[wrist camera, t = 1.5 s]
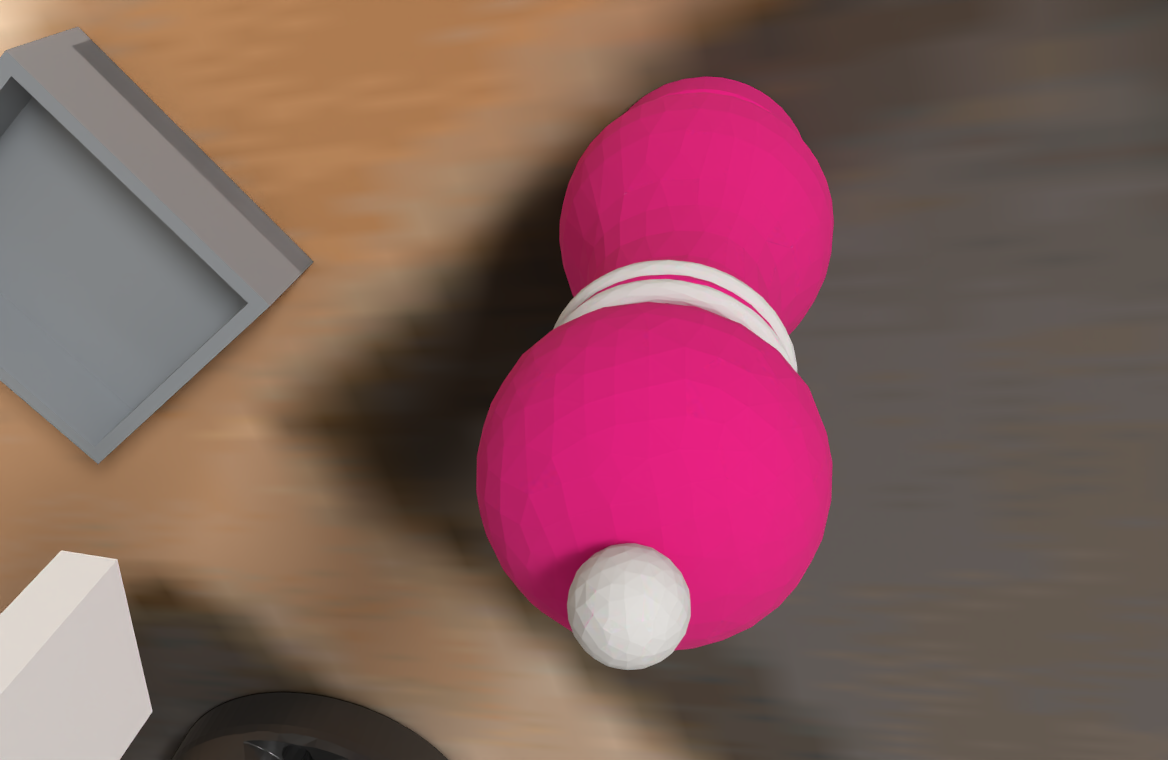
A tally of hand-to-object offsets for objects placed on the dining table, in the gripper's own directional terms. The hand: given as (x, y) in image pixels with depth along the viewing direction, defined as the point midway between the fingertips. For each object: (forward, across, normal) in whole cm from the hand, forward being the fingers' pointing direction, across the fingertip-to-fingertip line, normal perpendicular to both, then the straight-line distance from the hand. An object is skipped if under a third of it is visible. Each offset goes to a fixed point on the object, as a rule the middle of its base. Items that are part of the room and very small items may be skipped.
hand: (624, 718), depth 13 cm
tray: (+21, +20, +5) cm, 30 cm away
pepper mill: (+22, 0, 0) cm, 22 cm away
